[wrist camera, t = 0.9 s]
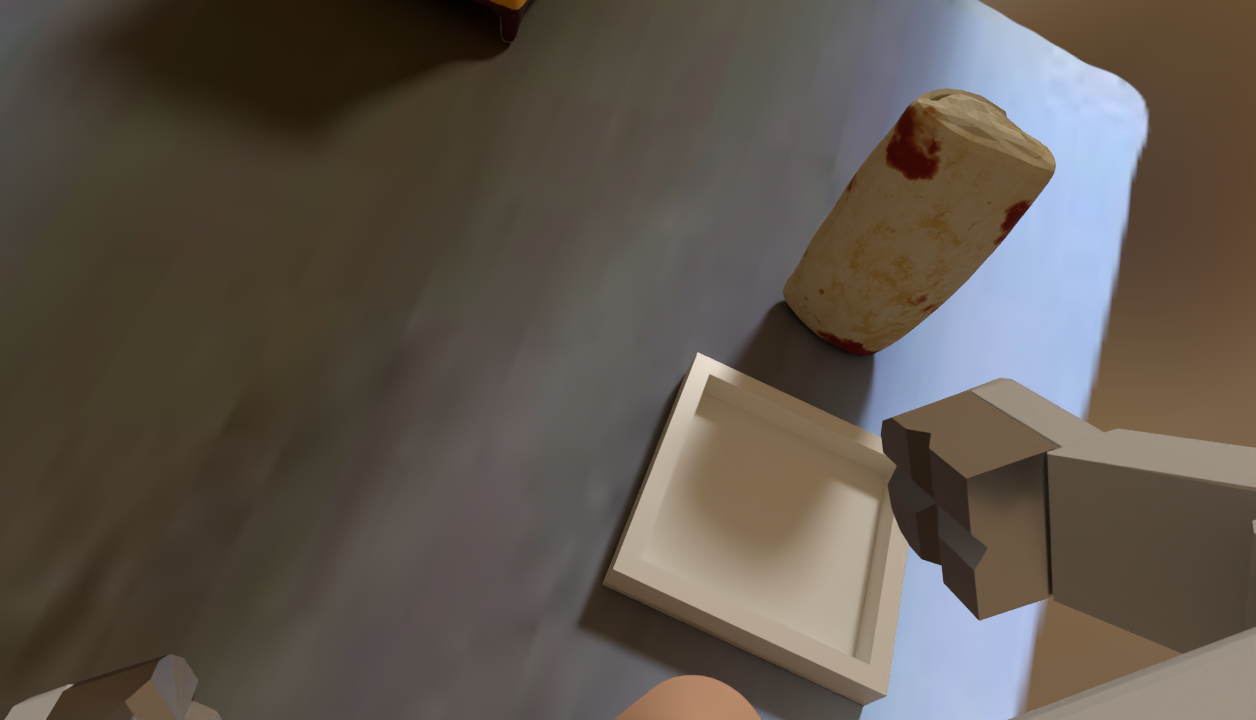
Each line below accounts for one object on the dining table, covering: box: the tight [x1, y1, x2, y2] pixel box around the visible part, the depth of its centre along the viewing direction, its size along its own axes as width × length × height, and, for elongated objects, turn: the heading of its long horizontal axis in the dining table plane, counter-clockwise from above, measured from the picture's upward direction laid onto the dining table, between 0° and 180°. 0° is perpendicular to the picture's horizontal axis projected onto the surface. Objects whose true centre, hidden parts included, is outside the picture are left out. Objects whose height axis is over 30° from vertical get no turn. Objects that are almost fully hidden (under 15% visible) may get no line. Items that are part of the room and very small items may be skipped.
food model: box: [783, 89, 1056, 355], centre depth 53 cm, size 10×7×20 cm
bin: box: [602, 353, 909, 706], centre depth 49 cm, size 16×16×2 cm
